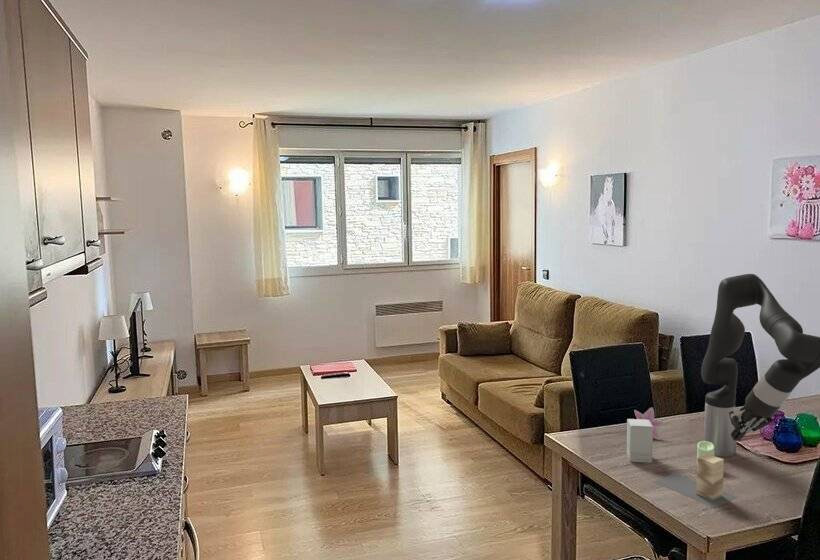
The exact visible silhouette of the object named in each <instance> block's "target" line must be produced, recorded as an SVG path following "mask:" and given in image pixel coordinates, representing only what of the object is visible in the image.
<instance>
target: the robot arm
mask: <svg viewBox="0 0 820 560" xmlns="http://www.w3.org/2000/svg"><path fill="white" fill-rule="evenodd" d="M718 284H719V285H718V289H717V298H716V300H717V301H716V309H715V315H714V319H713V323H712V327H711V330H710V334H709V340H708V345H707V349H706V353H705V355H704V357H703V360H702V363H701V367H700V376H701V379H702V381H703V382H704V383H705V384H709V385H716V386H722V387H721V388H719V389H717V390H713V391H710V392H707V393H706V394H705V398H704V400H705V401H704V428H703V429H704V430H703V433H704V434H703V441H708V442H711V443H712V444H713V445H714V456H715V457H718V458H722V457H723V458H724V457H725V458H727V457H732V456H733V455H736V454H737V442H738V441H739V442H740V441H741V440H742V439H743V438H744V436H745V435H746V434H747V433H750V432H751V431H752V432H756V431H759V430H760V429H762V428H764V427H766V426H768V425H770V424H772V423H774V419H773V417H774V415H776V413H777V412H778V411H779V410H780V408H781V407H782V406H783V405H784V403H786V401H787V400H788V399H789V397H790V396H791V393H792V392H793V390H794V389H795V388H796V387H797V385H798V384H799V383H800V382H801V381H802V380H803V379H805V378H806V377H808V376H810V375H811V374H813V373H814V372H816V371H817V370H818V369H820V336H817V335H816V336H815V335H810V334H808V333H807V334H806V333H804V330H803V327H802V325H801V324H800V322H798V321H797V320H796V319H795V318H794V317H792V315H791V314H790V313H788V311H786V310H785V309H784V308H783V307H782V306H781V304H780V303H779V302H778V300H777V299H776V298H775V296H774V294H773V293H772V292H771V291H770V289H769V288H768V286H767V285H766V284H765V282H764V281H763V280H762V279H761V278H760V277H759V276H758V275H757V274H754V273H746V274H739V275H735V276H730V277H729V276H728V277H726V278H724V279H722V280H721V281H720V282H719V283H718ZM755 305H759V306H760V311H759V323H760V326H761V328H762V329H763V330H764V332H766V333H767V334H768V335H769V336H770V337H771V338H772V339H773V340H774V343H775V345H776V348H777V349H778V352H779V353H780V354H781V355H782V357H784V358H783V359H781V358H780V359H777V360H775V361H774V362H773V363H772V364H771V366H770V367H769V368H768V369H767V371H766V372H765V374H764V375H763V376H762V377H761V378H759V379H758V381H757V382H756V384H754V386H753V388H752V389H751V390H750V392H749V393H748V394H747V395H746V397H745V399H744V400H745V401H744V405H743V406H742V407H740V409H739V410H738V411H736V399H737V398H736V397H737V386H738V374H739V369H738V368H739V367H738V363H737V361H736V359H734V358H730V357H729V356H731V355H732V354H734V353H735V352H737V351H738V350H739V349H740V347H741V346H742V343H743V341H744V337H745V334H746V328H745V325H744V323H743V322H742V320H741V319H740V318H739V317H738V316H737V315H736V314H735V313H734V312H735V310H736V309H740V308H745V307H750V306H755Z"/></svg>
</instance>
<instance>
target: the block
mask: <svg viewBox="0 0 820 560" xmlns="http://www.w3.org/2000/svg"><path fill="white" fill-rule="evenodd" d="M724 462H725V460H724V458H722V457H719V456H712V455H710V454H706V455H703V456H701V457H698V458H697V457H696V466H697V467H696V481H697V488H696V495H698V496H701V497H703V498H706V499H708V500H711V501H714V500H716V499H718V498H721V497H723V492H724V467H725V465H724V464H725V463H724Z"/></svg>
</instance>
